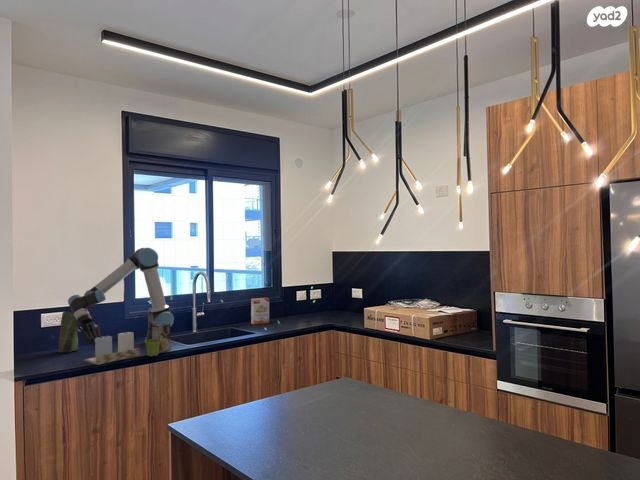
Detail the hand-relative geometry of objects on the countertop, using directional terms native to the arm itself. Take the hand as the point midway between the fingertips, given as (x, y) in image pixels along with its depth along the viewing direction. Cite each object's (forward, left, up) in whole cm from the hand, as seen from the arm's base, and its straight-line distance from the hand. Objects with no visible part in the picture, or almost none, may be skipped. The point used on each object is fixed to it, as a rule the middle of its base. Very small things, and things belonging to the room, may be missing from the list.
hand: (99, 349), depth 264 cm
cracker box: (-141, -2, -6) cm, 141 cm away
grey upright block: (0, +4, -5) cm, 6 cm away
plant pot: (-24, +15, -6) cm, 29 cm away
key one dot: (-14, +4, -5) cm, 15 cm away
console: (-7, +1, -6) cm, 9 cm away
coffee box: (-34, +10, -6) cm, 36 cm away
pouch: (-3, -38, -6) cm, 39 cm away
